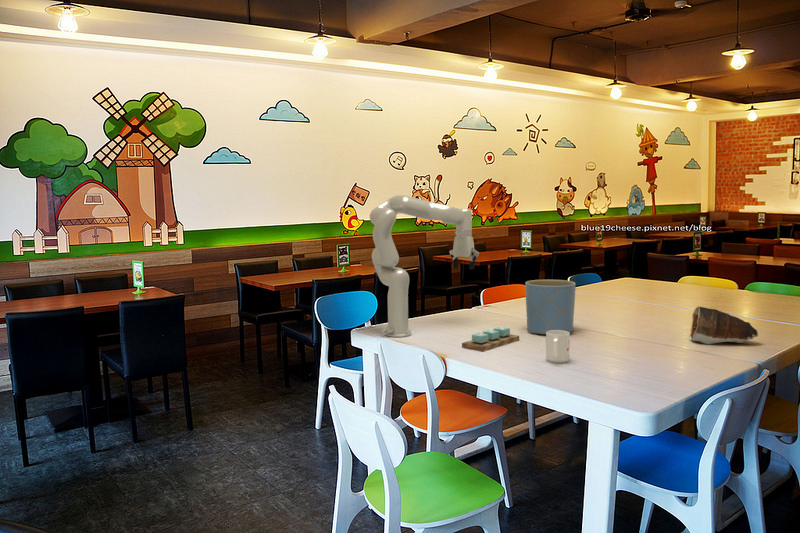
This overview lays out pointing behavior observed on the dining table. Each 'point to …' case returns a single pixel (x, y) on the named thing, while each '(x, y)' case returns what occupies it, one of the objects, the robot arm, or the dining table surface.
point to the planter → (550, 305)
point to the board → (490, 343)
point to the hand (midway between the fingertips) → (464, 268)
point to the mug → (557, 346)
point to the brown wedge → (719, 327)
